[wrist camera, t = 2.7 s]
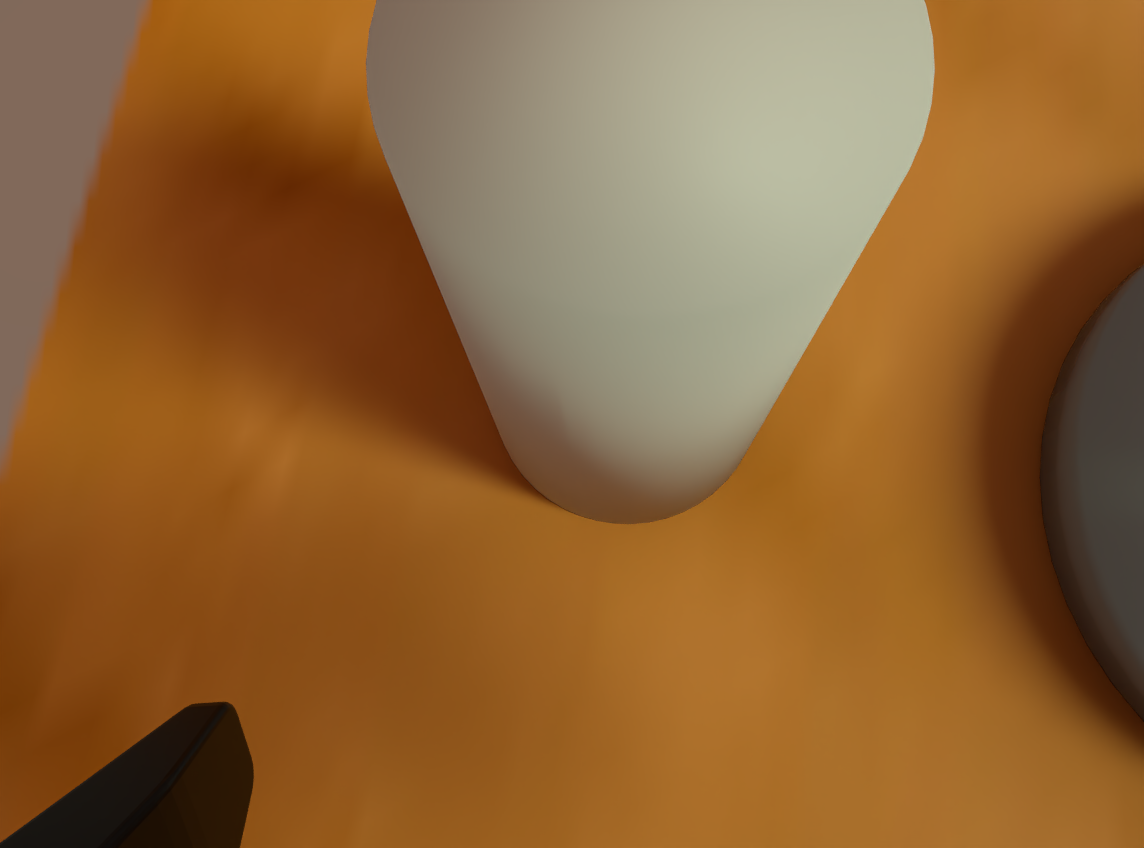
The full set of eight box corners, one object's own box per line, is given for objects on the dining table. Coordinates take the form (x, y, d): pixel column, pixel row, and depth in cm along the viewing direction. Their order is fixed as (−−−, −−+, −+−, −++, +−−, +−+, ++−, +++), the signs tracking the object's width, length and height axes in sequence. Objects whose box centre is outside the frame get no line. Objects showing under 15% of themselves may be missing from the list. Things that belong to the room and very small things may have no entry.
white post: (633, 580, 23) (668, 438, 10) (439, 399, 24) (250, 67, 11) (814, 386, 24) (1052, 32, 11) (618, 221, 25) (630, -271, 12)
